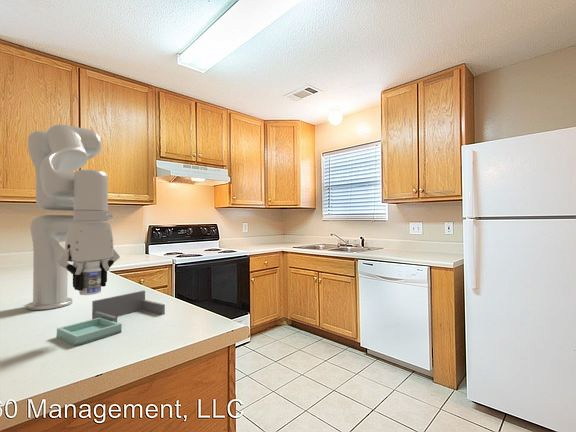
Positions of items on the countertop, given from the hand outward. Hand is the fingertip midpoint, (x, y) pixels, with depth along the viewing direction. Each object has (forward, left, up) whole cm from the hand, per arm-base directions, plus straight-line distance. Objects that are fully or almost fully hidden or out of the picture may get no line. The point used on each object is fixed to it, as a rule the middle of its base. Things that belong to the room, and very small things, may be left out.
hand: (90, 287), depth 79 cm
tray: (0, 0, -12) cm, 12 cm away
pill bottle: (0, 0, -2) cm, 2 cm away
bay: (-5, +14, -12) cm, 19 cm away
